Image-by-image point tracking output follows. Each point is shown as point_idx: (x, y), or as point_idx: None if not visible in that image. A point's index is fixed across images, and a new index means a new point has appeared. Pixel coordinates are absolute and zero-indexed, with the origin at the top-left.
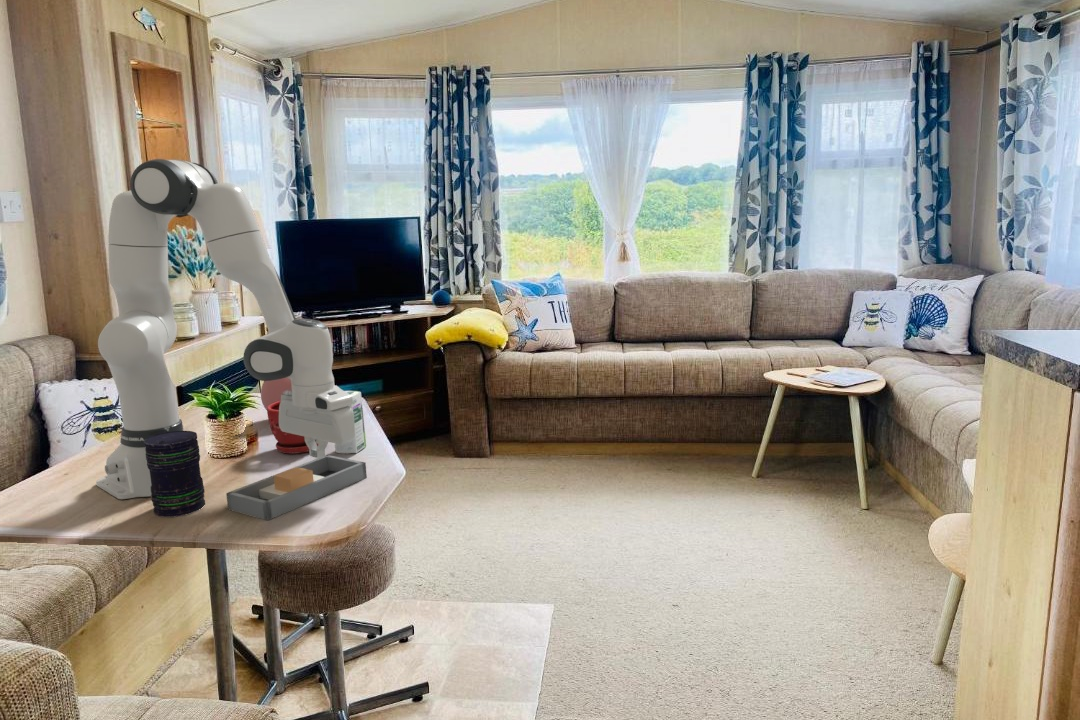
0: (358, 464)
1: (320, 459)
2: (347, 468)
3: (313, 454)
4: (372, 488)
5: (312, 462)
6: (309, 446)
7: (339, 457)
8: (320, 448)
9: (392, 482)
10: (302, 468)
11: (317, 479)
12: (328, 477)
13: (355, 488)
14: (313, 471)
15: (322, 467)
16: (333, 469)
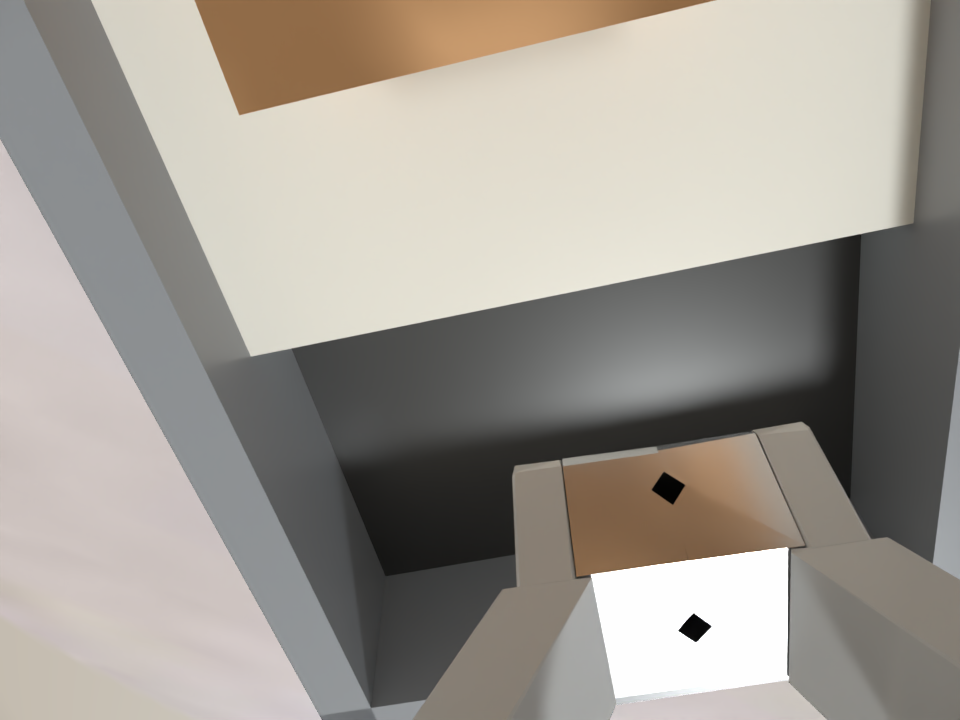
0: (332, 689)
1: (934, 543)
2: (288, 573)
3: (689, 475)
4: (22, 506)
5: (947, 431)
6: (872, 598)
7: (748, 682)
8: (467, 672)
9: (72, 656)
10: (547, 29)
11: (450, 195)
12: (75, 247)
13: (133, 414)
14: (884, 355)
15: (879, 477)
16: None
